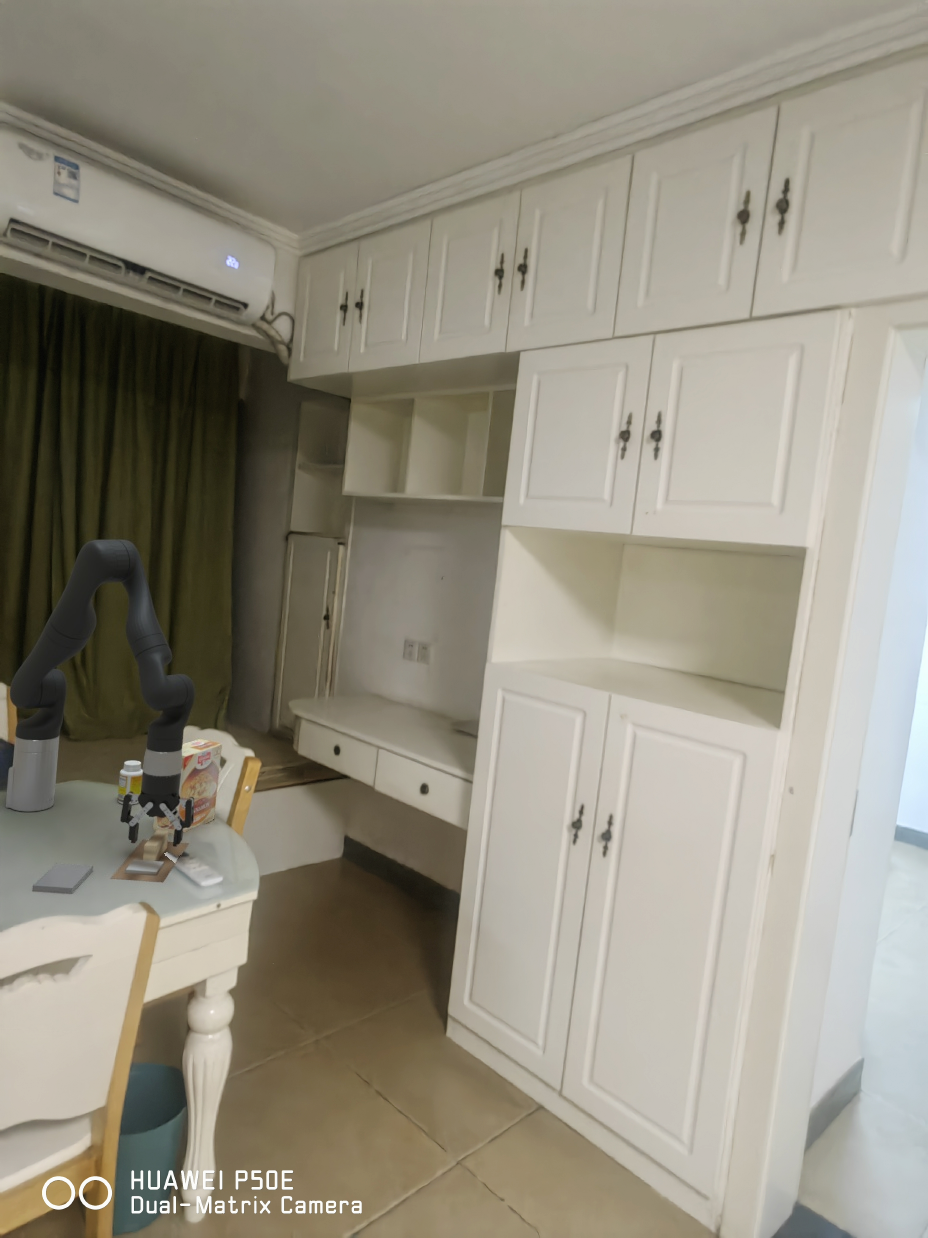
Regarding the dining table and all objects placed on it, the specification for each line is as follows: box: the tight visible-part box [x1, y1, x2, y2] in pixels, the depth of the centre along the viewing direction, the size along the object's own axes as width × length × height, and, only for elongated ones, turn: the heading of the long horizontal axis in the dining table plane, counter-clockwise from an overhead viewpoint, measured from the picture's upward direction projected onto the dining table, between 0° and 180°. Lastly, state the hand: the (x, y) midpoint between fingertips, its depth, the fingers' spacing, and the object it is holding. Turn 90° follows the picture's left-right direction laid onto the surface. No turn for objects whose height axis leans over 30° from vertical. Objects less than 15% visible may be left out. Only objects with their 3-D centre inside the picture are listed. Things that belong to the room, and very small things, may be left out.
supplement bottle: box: [117, 760, 143, 805], centre depth 190 cm, size 6×6×10 cm
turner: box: [125, 829, 169, 876], centre depth 157 cm, size 14×6×4 cm, turn 6°
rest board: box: [110, 839, 190, 883], centre depth 158 cm, size 10×20×1 cm, turn 6°
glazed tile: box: [31, 862, 94, 895], centre depth 144 cm, size 7×2×10 cm
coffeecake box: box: [152, 738, 223, 836], centre depth 179 cm, size 15×7×20 cm, turn 164°
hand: (155, 843), depth 158 cm, fingers open, 8 cm apart
